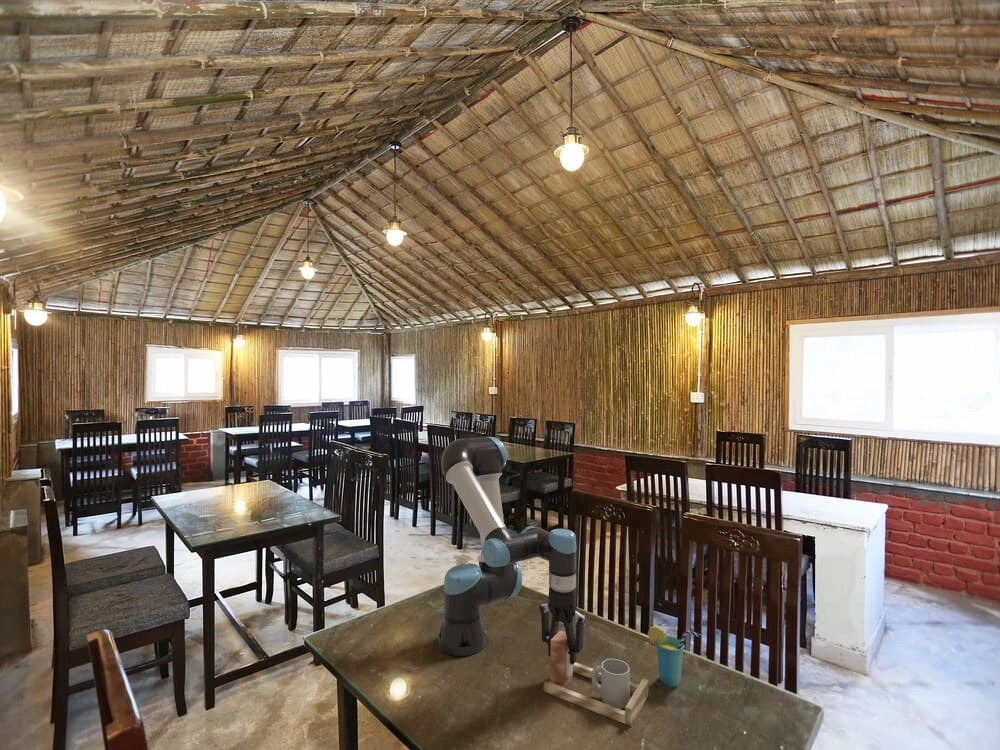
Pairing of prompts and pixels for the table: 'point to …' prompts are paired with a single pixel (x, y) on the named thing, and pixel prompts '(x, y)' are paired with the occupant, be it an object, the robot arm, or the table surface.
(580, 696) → the frame
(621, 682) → the cup
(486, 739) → the table surface
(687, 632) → the cup
